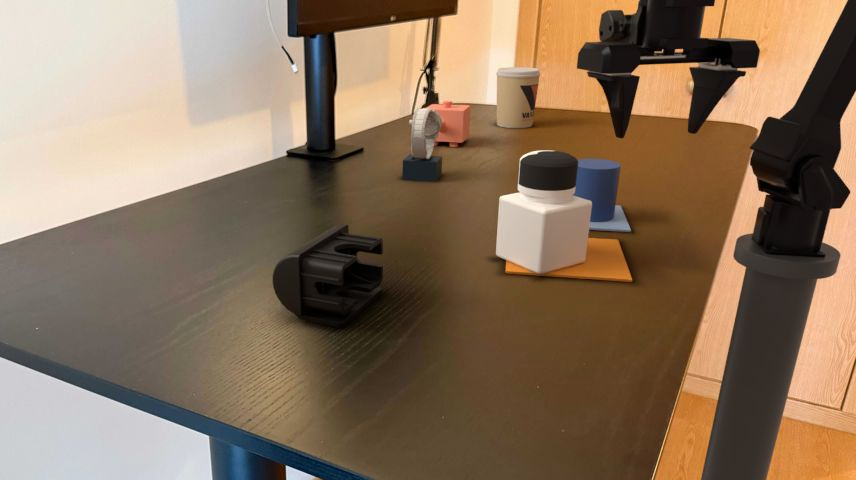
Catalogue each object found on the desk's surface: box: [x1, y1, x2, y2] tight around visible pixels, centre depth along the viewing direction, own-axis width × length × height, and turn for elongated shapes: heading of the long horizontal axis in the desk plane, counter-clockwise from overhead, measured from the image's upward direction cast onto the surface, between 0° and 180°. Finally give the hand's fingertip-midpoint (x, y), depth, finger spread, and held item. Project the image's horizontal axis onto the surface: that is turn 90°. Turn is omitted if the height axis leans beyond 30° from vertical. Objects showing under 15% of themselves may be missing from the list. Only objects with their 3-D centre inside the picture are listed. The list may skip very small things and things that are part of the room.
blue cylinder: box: [573, 158, 621, 222], centre depth 94 cm, size 6×6×7 cm
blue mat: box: [589, 204, 632, 233], centre depth 95 cm, size 11×11×1 cm
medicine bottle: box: [495, 149, 592, 274], centre depth 77 cm, size 7×7×12 cm
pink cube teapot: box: [426, 100, 471, 148], centre depth 139 cm, size 8×12×8 cm, turn 161°
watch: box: [402, 107, 443, 182], centre depth 114 cm, size 6×8×11 cm
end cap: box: [272, 224, 384, 329], centre depth 69 cm, size 10×7×7 cm
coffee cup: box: [495, 66, 541, 129], centre depth 156 cm, size 9×9×12 cm
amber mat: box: [505, 237, 633, 283], centre depth 81 cm, size 13×13×1 cm
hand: (656, 135), depth 80 cm, fingers open, 9 cm apart
